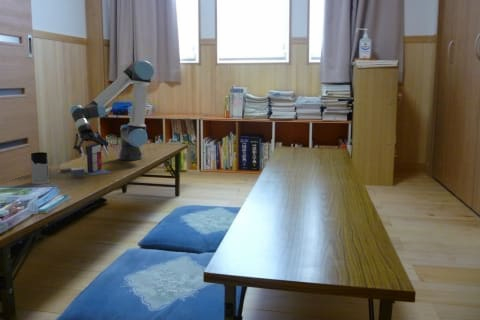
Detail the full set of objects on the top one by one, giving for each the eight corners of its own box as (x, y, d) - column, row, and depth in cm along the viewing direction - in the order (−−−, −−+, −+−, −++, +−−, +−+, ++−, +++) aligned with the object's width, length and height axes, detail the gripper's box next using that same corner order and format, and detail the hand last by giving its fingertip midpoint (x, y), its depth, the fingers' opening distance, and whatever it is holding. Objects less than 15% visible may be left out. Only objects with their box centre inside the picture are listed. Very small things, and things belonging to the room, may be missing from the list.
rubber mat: (98, 168, 263) (98, 167, 263) (110, 172, 252) (110, 171, 251) (80, 170, 256) (80, 169, 256) (91, 175, 244) (91, 174, 244)
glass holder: (32, 180, 229) (30, 152, 227) (61, 179, 234) (60, 151, 232) (30, 184, 221) (28, 155, 219) (61, 182, 226) (59, 154, 224)
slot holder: (71, 171, 255) (70, 162, 254) (84, 177, 240) (84, 168, 239) (59, 172, 251) (59, 163, 250) (73, 178, 236) (72, 169, 235)
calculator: (93, 173, 248) (92, 146, 245) (86, 172, 248) (85, 146, 246) (102, 169, 258) (101, 143, 256) (95, 168, 259) (94, 143, 256)
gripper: (102, 130, 270) (114, 158, 262) (61, 133, 254) (72, 162, 246) (105, 122, 265) (118, 150, 257) (64, 124, 249) (75, 154, 241)
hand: (95, 156), depth 251 cm, fingers open, 13 cm apart
